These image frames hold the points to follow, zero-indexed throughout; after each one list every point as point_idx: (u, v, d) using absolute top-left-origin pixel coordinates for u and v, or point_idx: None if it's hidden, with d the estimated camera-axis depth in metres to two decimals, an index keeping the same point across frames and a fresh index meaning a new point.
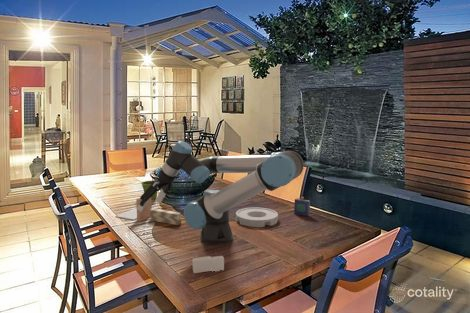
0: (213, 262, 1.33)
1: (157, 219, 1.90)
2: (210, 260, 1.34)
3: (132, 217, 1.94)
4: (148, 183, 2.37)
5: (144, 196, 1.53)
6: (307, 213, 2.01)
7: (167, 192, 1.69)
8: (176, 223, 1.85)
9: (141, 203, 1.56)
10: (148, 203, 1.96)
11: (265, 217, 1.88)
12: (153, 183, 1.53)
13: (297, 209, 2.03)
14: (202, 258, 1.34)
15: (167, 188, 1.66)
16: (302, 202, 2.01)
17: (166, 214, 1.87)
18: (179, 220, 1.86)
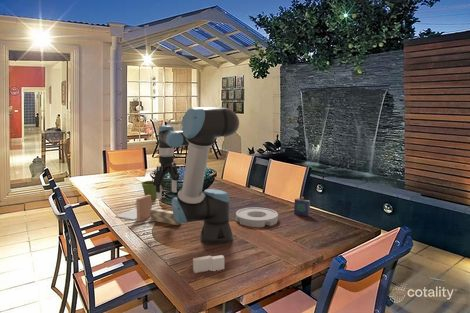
0: (214, 261, 1.34)
1: (157, 219, 1.90)
2: (210, 259, 1.34)
3: (132, 217, 1.94)
4: (148, 183, 2.37)
5: (155, 181, 1.76)
6: (307, 213, 2.01)
7: (177, 179, 1.91)
8: (176, 223, 1.85)
9: (157, 189, 1.77)
10: (148, 203, 1.96)
11: (265, 217, 1.88)
12: (157, 168, 1.77)
13: (297, 209, 2.03)
14: (202, 258, 1.34)
15: (174, 174, 1.89)
16: (302, 202, 2.01)
17: (166, 214, 1.87)
18: None
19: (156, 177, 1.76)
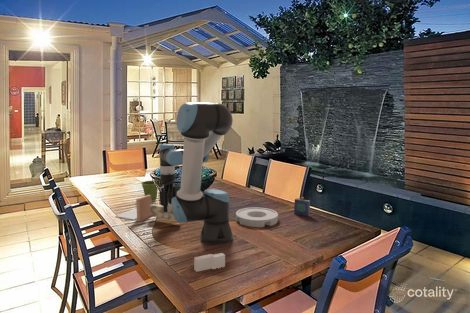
0: (215, 259, 1.35)
1: (157, 214, 1.89)
2: (211, 258, 1.36)
3: (132, 217, 1.94)
4: (148, 183, 2.37)
5: (162, 202, 1.82)
6: (307, 213, 2.01)
7: None
8: None
9: (164, 209, 1.84)
10: (148, 203, 1.96)
11: (265, 217, 1.88)
12: (159, 189, 1.80)
13: (297, 209, 2.03)
14: (204, 256, 1.35)
15: (172, 195, 1.88)
16: (302, 202, 2.01)
17: None
18: None
19: (161, 198, 1.81)
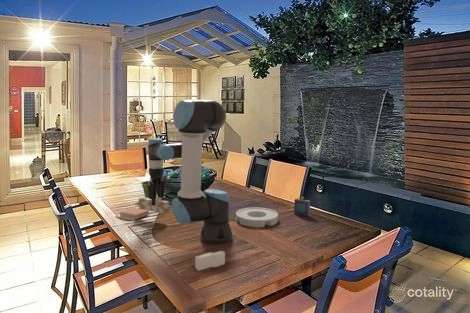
0: (215, 257, 1.37)
1: (145, 207, 1.92)
2: (212, 256, 1.37)
3: None
4: None
5: (150, 195, 1.85)
6: (307, 213, 2.01)
7: (161, 196, 1.92)
8: (164, 211, 1.87)
9: (152, 203, 1.87)
10: (134, 209, 2.01)
11: (265, 217, 1.88)
12: (147, 183, 1.83)
13: (297, 209, 2.03)
14: (204, 255, 1.37)
15: (161, 189, 1.91)
16: (302, 202, 2.01)
17: None
18: (167, 209, 1.88)
19: (149, 192, 1.85)
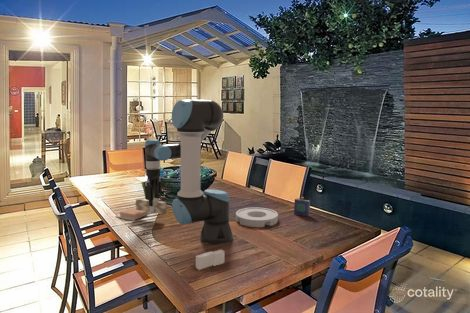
0: (216, 256, 1.38)
1: (143, 208, 1.93)
2: (212, 255, 1.38)
3: None
4: None
5: (147, 196, 1.85)
6: (307, 213, 2.01)
7: (159, 196, 1.92)
8: (161, 212, 1.88)
9: (150, 203, 1.88)
10: (134, 209, 2.01)
11: (265, 217, 1.88)
12: (145, 184, 1.84)
13: (297, 209, 2.03)
14: (205, 254, 1.37)
15: (158, 190, 1.92)
16: (302, 202, 2.01)
17: None
18: (164, 209, 1.89)
19: (147, 192, 1.85)
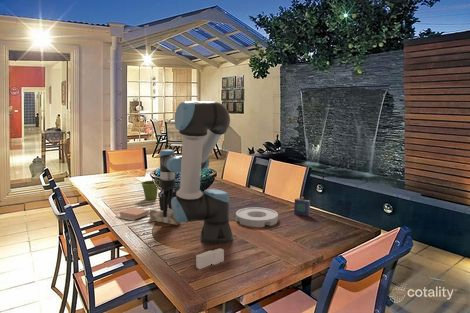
0: (216, 255, 1.39)
1: (157, 219, 1.90)
2: (212, 254, 1.39)
3: None
4: (148, 183, 2.37)
5: (162, 207, 1.83)
6: (307, 213, 2.01)
7: None
8: (176, 223, 1.85)
9: (164, 215, 1.85)
10: (134, 209, 2.01)
11: (265, 217, 1.88)
12: (159, 195, 1.81)
13: (297, 209, 2.03)
14: (205, 253, 1.38)
15: None
16: (302, 202, 2.01)
17: None
18: None
19: (161, 204, 1.82)
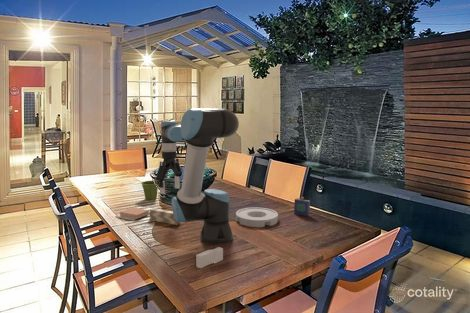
0: (215, 254, 1.40)
1: (157, 219, 1.90)
2: (212, 253, 1.40)
3: None
4: (148, 183, 2.37)
5: (158, 176, 1.76)
6: (307, 213, 2.01)
7: (180, 175, 1.91)
8: (175, 223, 1.85)
9: (160, 185, 1.77)
10: (134, 209, 2.01)
11: (265, 217, 1.88)
12: (160, 163, 1.77)
13: (297, 209, 2.03)
14: (205, 252, 1.39)
15: (177, 170, 1.89)
16: (302, 202, 2.01)
17: (165, 214, 1.87)
18: None
19: (159, 172, 1.76)
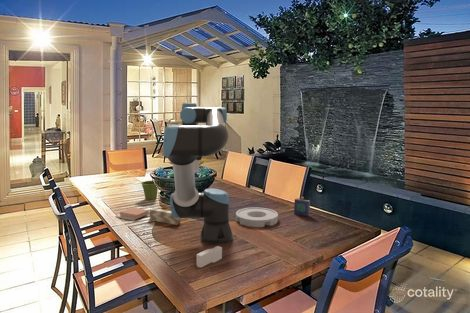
0: (215, 253, 1.41)
1: (157, 219, 1.90)
2: (211, 252, 1.41)
3: None
4: (148, 183, 2.37)
5: None
6: (307, 213, 2.01)
7: (199, 158, 1.88)
8: (175, 223, 1.85)
9: None
10: (134, 209, 2.01)
11: (265, 217, 1.88)
12: None
13: (297, 209, 2.03)
14: (204, 252, 1.40)
15: None
16: (302, 202, 2.01)
17: (166, 214, 1.87)
18: (179, 220, 1.86)
19: None
